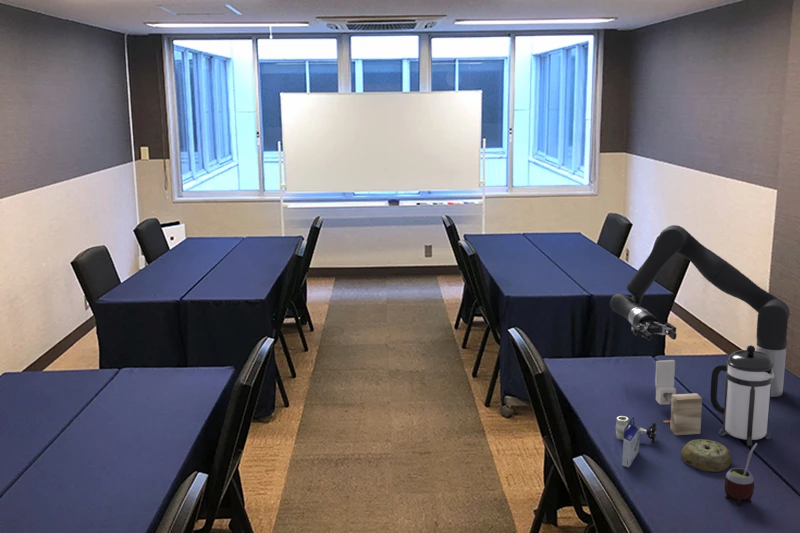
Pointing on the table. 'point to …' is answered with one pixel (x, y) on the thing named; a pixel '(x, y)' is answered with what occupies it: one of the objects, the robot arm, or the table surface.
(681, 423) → the rod stand
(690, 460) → the weight
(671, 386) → the white upright panel
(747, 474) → the mate gourd
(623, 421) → the valve
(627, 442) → the ink box
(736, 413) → the coffee press
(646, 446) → the table surface
